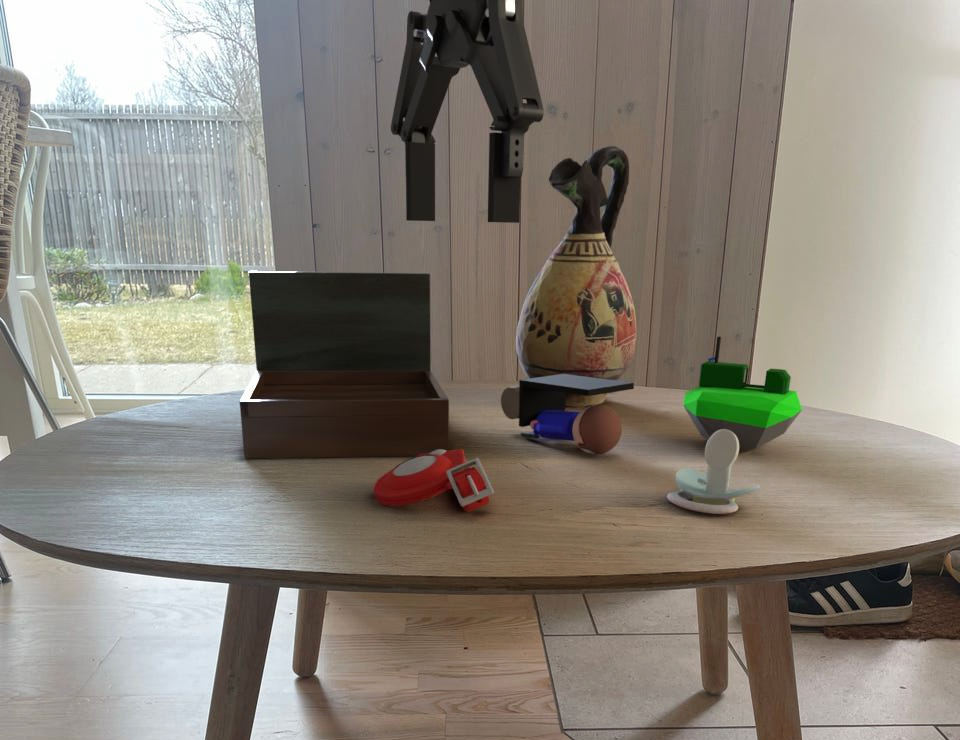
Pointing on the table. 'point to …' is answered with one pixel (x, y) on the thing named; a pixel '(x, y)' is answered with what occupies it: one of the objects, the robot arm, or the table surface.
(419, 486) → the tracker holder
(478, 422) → the table surface
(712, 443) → the pacifier
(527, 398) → the figurine character
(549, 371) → the ceramic jug
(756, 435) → the toy tugboat
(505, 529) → the table surface
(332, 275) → the open wooden box
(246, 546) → the table surface
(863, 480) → the table surface
